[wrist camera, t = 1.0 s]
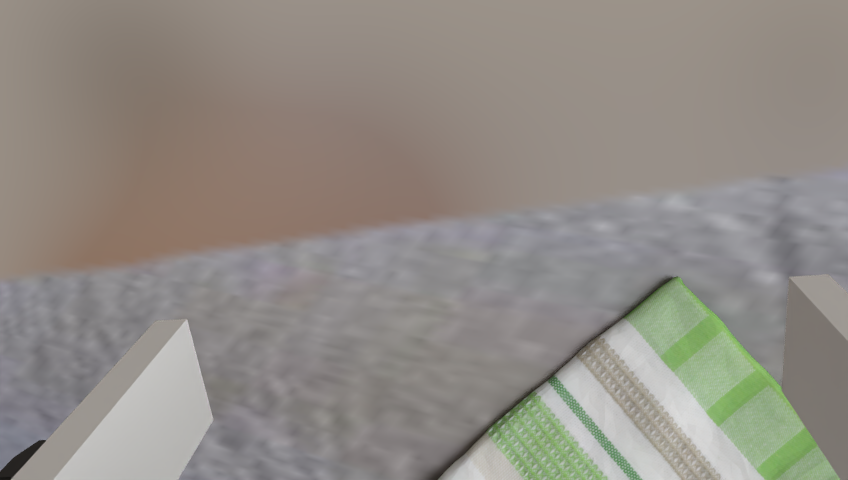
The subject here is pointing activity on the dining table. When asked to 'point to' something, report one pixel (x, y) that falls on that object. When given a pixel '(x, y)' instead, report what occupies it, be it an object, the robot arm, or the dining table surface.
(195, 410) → the robot arm
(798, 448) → the dish towel
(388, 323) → the dining table surface
